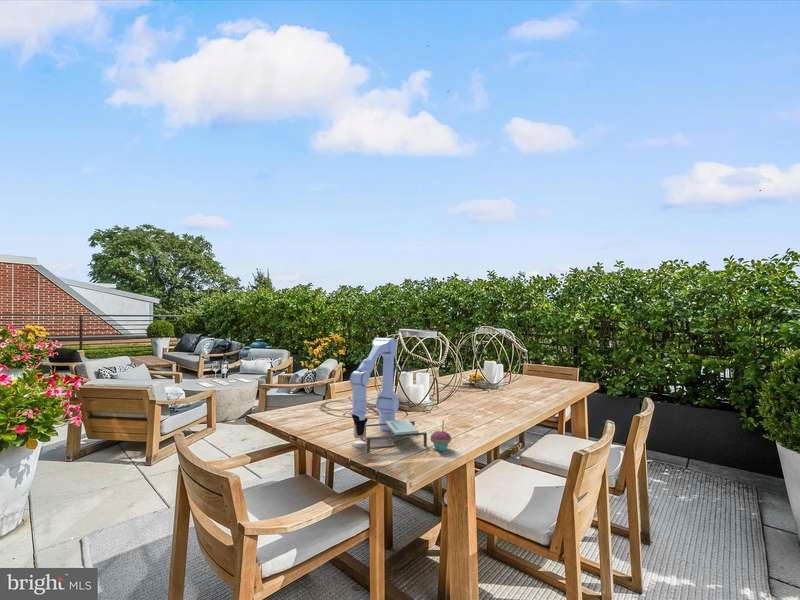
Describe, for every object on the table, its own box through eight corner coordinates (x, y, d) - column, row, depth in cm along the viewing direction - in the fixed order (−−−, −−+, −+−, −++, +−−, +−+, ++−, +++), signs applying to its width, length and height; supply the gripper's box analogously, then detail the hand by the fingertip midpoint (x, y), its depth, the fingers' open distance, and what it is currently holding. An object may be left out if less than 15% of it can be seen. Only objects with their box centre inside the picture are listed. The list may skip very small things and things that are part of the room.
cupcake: (438, 444, 165) (438, 415, 166) (455, 448, 160) (455, 419, 160) (426, 449, 159) (426, 420, 159) (444, 454, 153) (444, 424, 154)
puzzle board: (347, 440, 169) (348, 426, 170) (413, 435, 177) (413, 421, 177) (353, 455, 152) (354, 439, 152) (426, 448, 160) (426, 433, 160)
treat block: (353, 435, 163) (353, 423, 163) (364, 434, 164) (364, 422, 165) (355, 438, 159) (355, 426, 159) (366, 437, 160) (366, 425, 160)
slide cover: (385, 423, 173) (385, 420, 173) (407, 421, 176) (407, 419, 176) (395, 435, 157) (395, 432, 157) (418, 433, 160) (418, 430, 160)
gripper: (347, 397, 168) (347, 428, 168) (352, 404, 154) (352, 439, 154) (363, 396, 170) (363, 427, 169) (369, 403, 156) (369, 438, 155)
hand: (359, 433), depth 162 cm, fingers closed on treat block, 4 cm apart
